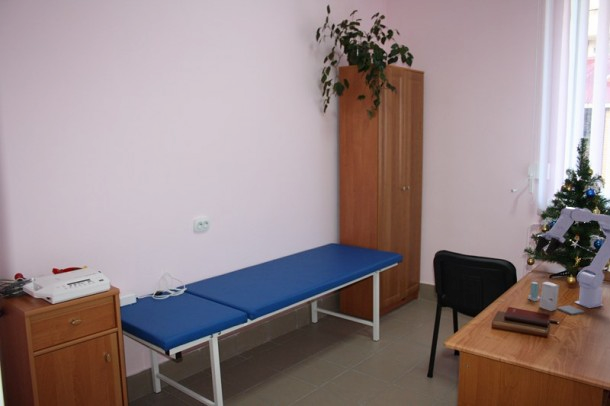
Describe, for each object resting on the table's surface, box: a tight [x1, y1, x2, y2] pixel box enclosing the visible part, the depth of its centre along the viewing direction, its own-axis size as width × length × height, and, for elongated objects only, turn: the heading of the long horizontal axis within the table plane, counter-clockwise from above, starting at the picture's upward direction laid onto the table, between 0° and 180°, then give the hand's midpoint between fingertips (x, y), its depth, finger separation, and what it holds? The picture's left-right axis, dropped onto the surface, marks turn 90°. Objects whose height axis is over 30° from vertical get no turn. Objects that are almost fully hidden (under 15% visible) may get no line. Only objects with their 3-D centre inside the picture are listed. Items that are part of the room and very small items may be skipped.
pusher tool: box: [527, 281, 541, 302], centre depth 230 cm, size 4×4×8 cm
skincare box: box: [539, 281, 560, 312], centre depth 218 cm, size 6×4×12 cm
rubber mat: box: [556, 304, 585, 316], centre depth 215 cm, size 8×8×1 cm
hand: (541, 252), depth 213 cm, fingers open, 7 cm apart
